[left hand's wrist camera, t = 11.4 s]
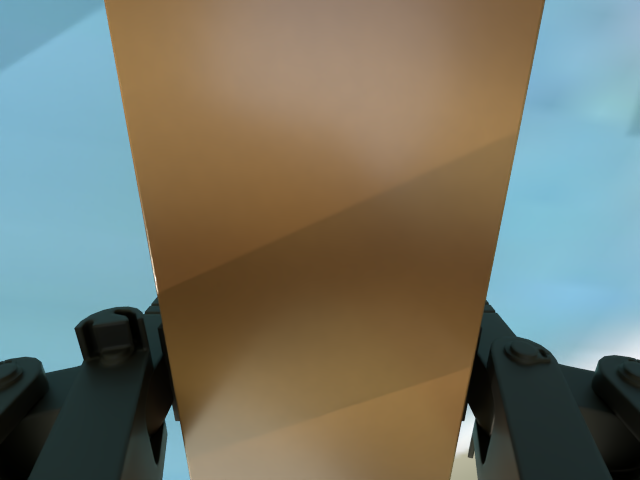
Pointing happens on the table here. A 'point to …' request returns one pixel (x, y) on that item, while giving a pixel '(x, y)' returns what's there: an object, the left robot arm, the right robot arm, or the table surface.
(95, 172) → the table surface
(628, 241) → the table surface
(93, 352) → the left robot arm
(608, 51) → the table surface
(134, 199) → the table surface
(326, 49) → the bar
